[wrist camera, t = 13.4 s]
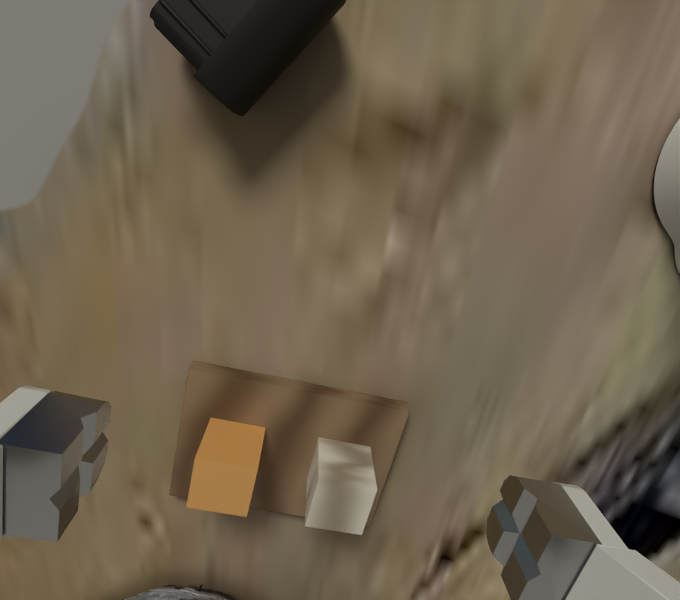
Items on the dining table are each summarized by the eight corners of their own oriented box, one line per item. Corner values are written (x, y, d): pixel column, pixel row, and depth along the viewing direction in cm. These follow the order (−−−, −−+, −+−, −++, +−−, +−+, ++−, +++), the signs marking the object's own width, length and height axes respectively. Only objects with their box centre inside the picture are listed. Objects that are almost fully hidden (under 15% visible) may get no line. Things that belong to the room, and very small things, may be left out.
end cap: (248, 119, 34) (232, 116, 28) (173, 41, 32) (137, 19, 26) (345, 13, 32) (351, -17, 25) (271, -77, 30) (257, -134, 24)
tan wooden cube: (265, 427, 41) (257, 469, 36) (255, 471, 43) (246, 517, 38) (210, 417, 41) (194, 458, 36) (202, 462, 42) (186, 507, 37)
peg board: (406, 402, 43) (422, 450, 36) (368, 515, 47) (375, 576, 41) (193, 360, 40) (168, 404, 34) (173, 483, 45) (148, 543, 38)
